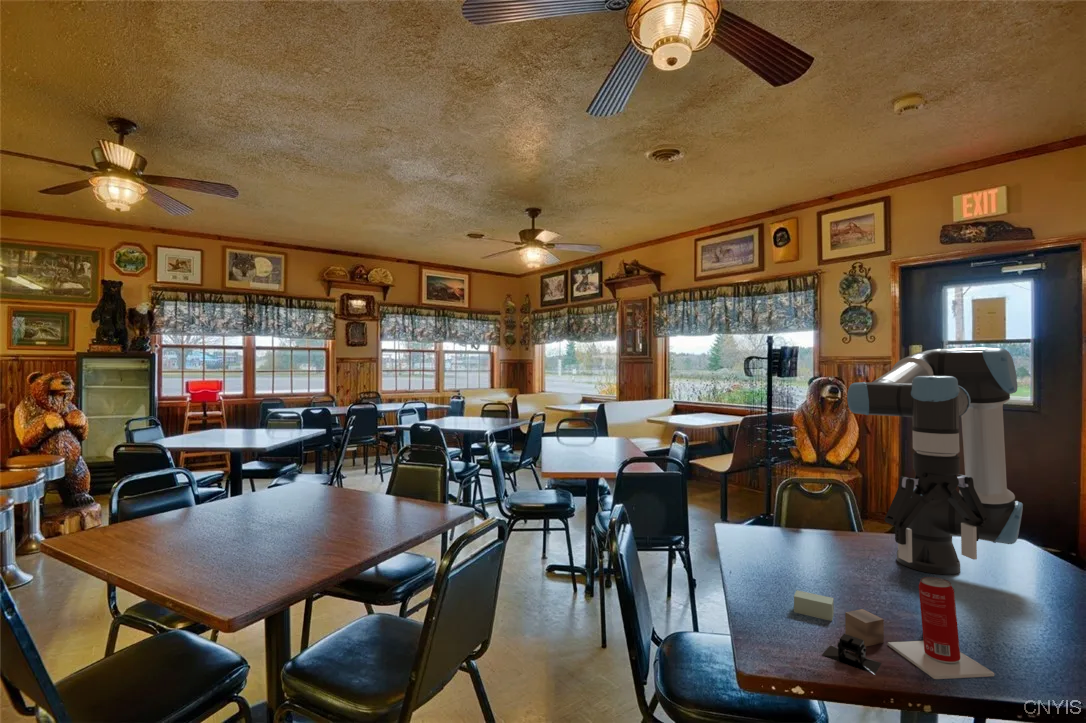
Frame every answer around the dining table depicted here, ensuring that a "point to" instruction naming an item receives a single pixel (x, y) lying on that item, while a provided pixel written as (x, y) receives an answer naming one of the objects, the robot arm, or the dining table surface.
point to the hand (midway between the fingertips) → (937, 558)
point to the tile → (939, 669)
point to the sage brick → (814, 605)
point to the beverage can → (939, 620)
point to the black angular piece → (852, 654)
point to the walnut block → (864, 626)
